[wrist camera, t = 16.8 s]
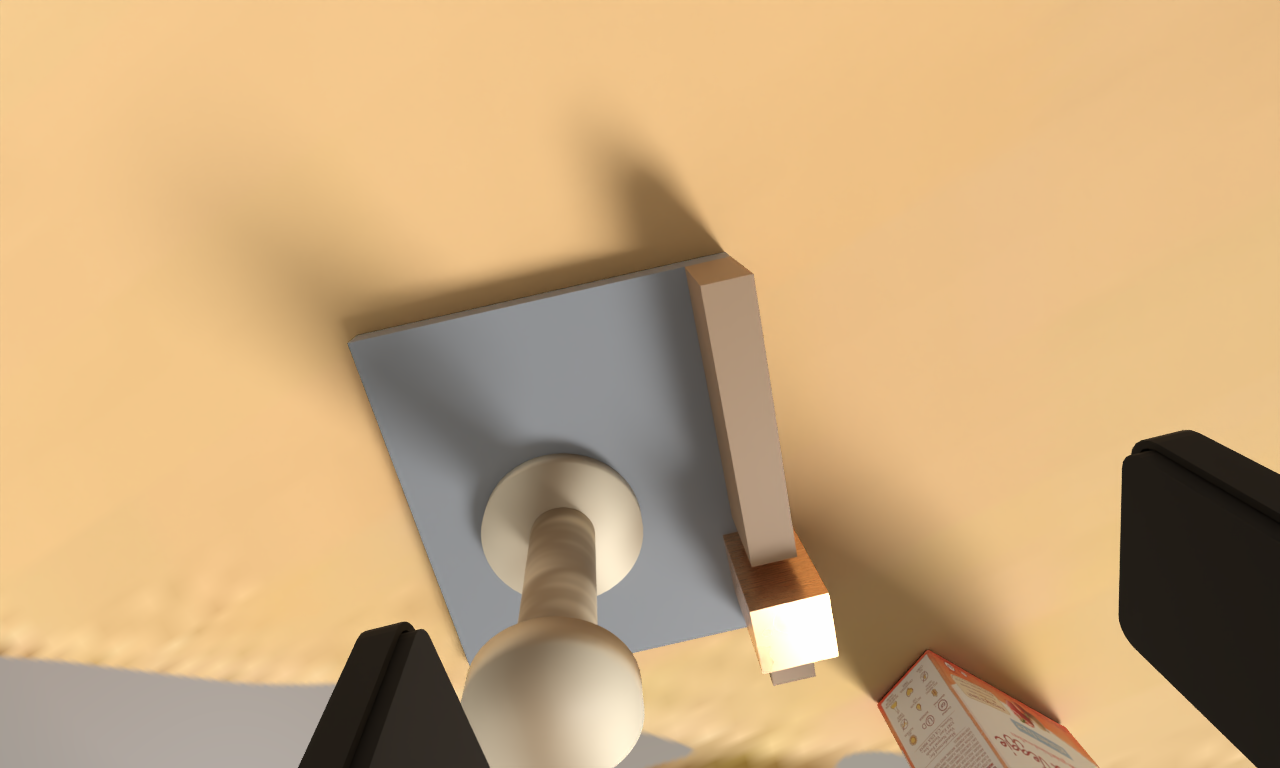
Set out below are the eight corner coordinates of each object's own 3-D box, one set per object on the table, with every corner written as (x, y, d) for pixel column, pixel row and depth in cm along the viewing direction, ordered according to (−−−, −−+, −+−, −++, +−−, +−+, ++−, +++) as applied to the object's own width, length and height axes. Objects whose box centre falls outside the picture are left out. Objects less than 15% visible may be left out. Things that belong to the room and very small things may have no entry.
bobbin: (622, 437, 37) (643, 596, 24) (655, 571, 40) (689, 777, 27) (463, 473, 37) (398, 652, 24) (508, 604, 40) (471, 827, 27)
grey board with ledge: (724, 252, 36) (753, 273, 30) (783, 601, 44) (815, 676, 38) (356, 335, 36) (309, 374, 30) (481, 670, 44) (464, 756, 38)
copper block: (788, 519, 40) (828, 593, 33) (798, 574, 41) (838, 655, 35) (722, 535, 40) (749, 612, 33) (734, 589, 41) (762, 674, 35)
